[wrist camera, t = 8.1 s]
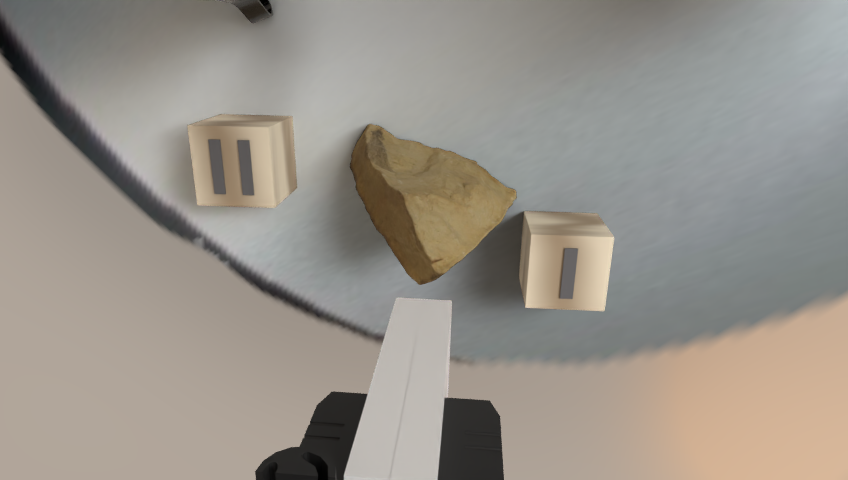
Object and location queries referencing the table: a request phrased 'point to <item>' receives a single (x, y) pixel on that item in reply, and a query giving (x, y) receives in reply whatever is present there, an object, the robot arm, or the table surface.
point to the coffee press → (253, 8)
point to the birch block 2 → (565, 260)
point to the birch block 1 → (243, 160)
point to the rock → (426, 201)
